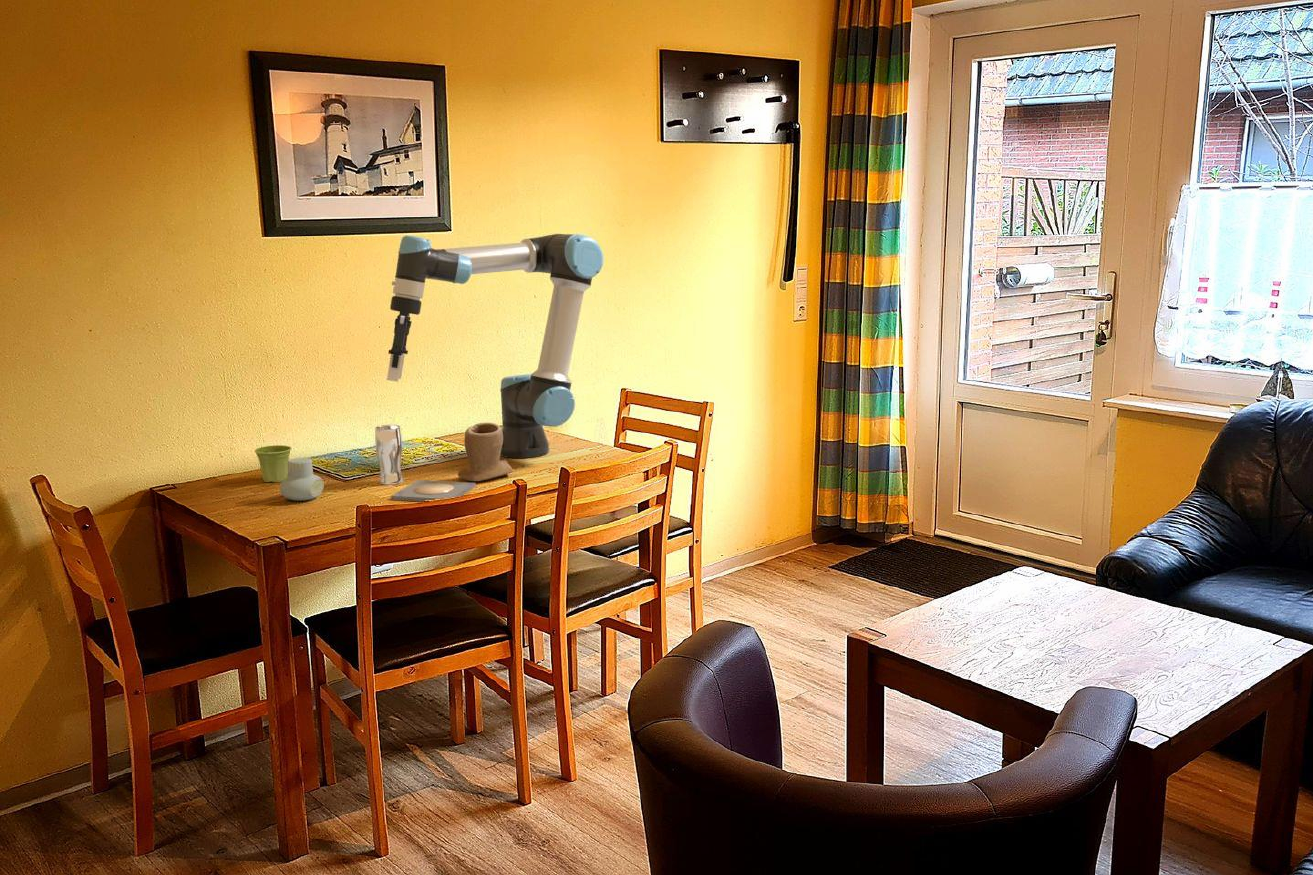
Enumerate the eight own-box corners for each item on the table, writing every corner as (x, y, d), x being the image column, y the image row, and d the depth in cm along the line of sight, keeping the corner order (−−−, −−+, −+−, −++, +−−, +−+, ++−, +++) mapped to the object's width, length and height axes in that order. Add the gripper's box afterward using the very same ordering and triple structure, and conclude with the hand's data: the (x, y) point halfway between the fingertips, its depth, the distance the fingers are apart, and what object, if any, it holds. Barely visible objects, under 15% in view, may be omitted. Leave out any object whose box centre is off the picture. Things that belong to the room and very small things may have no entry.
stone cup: (477, 487, 294) (474, 431, 291) (452, 479, 303) (449, 424, 300) (524, 477, 304) (522, 422, 301) (498, 469, 313) (496, 416, 310)
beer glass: (398, 485, 297) (394, 430, 293) (373, 484, 298) (369, 429, 295) (408, 479, 303) (405, 424, 300) (384, 478, 305) (381, 424, 301)
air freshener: (307, 504, 280) (304, 465, 278) (277, 503, 281) (273, 464, 279) (327, 493, 291) (324, 455, 288) (298, 492, 292) (294, 454, 290)
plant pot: (283, 474, 311) (281, 443, 309) (300, 479, 304) (297, 448, 302) (251, 480, 304) (248, 449, 302) (267, 486, 298) (264, 454, 296)
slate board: (419, 483, 299) (418, 479, 298) (475, 486, 295) (475, 482, 295) (391, 499, 284) (391, 495, 283) (450, 502, 280) (450, 498, 280)
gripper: (395, 295, 299) (382, 374, 301) (388, 293, 275) (375, 379, 276) (423, 300, 300) (411, 379, 302) (420, 299, 276) (406, 384, 278)
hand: (394, 379), depth 289 cm, fingers open, 13 cm apart
